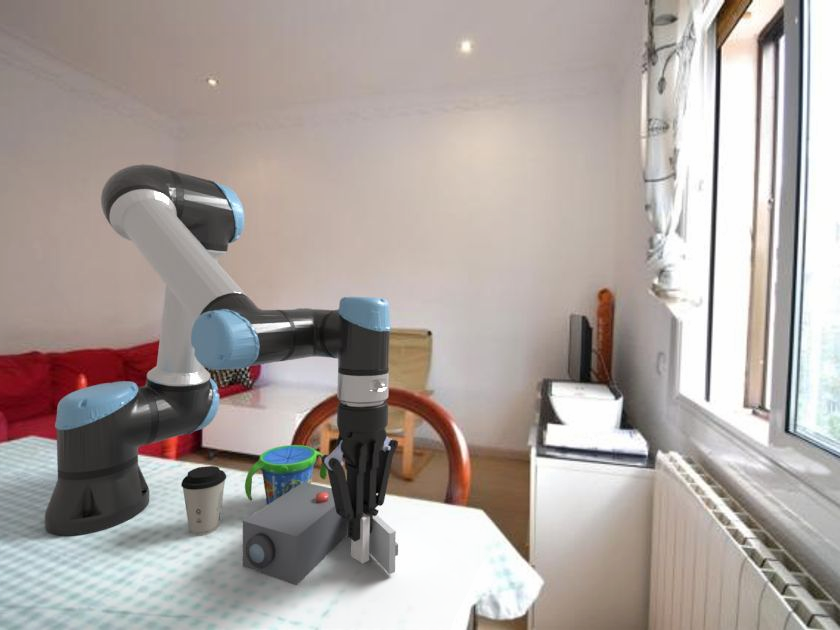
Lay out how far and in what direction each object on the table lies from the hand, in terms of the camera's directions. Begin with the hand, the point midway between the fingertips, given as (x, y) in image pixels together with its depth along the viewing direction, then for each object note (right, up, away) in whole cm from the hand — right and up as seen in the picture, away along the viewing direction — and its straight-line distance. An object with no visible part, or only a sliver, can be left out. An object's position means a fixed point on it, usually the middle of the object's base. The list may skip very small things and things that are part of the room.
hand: (359, 557), depth 60 cm
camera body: (-10, -1, +5) cm, 11 cm away
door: (+1, -1, +4) cm, 4 cm away
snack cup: (-17, -1, +18) cm, 25 cm away
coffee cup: (-29, -1, +10) cm, 30 cm away
